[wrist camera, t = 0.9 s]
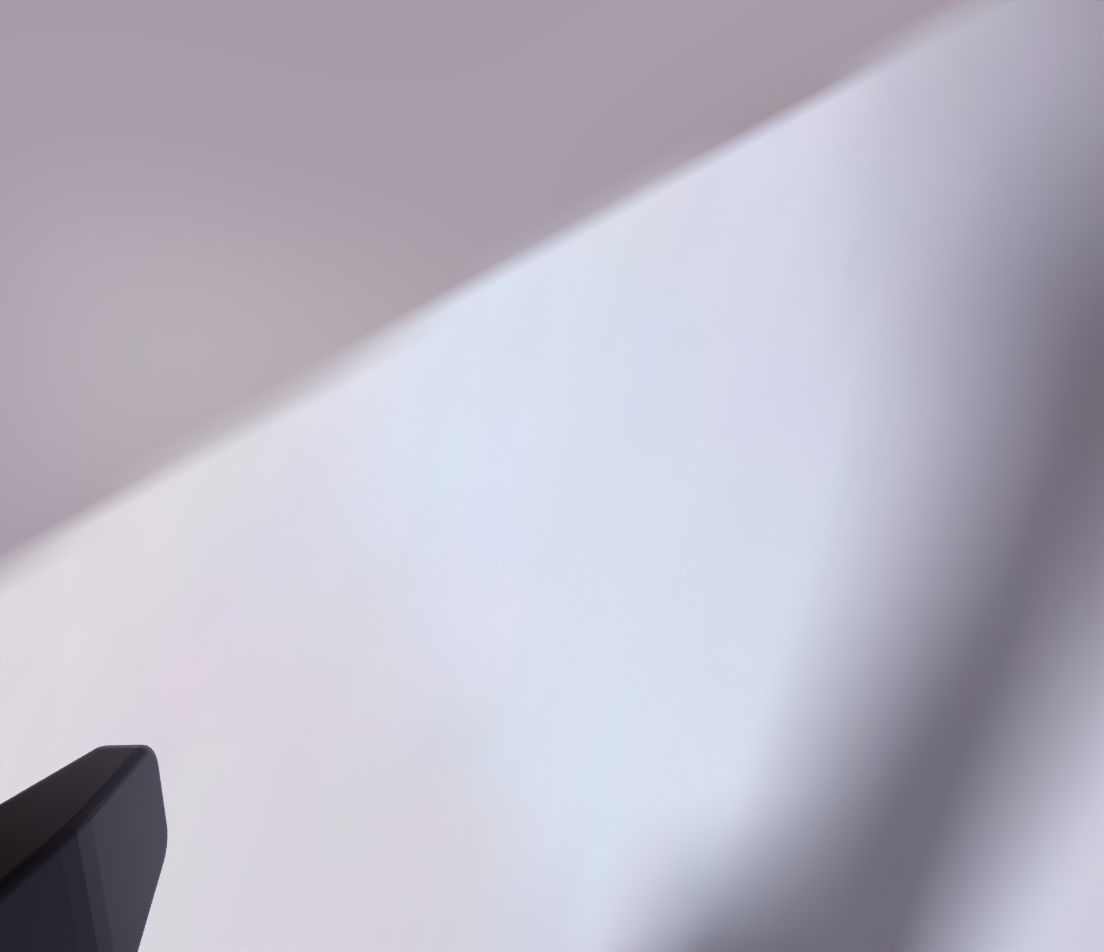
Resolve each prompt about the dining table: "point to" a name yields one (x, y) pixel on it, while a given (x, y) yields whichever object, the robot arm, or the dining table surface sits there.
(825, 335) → the dining table surface
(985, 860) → the dining table surface
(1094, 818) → the dining table surface
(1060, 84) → the dining table surface
